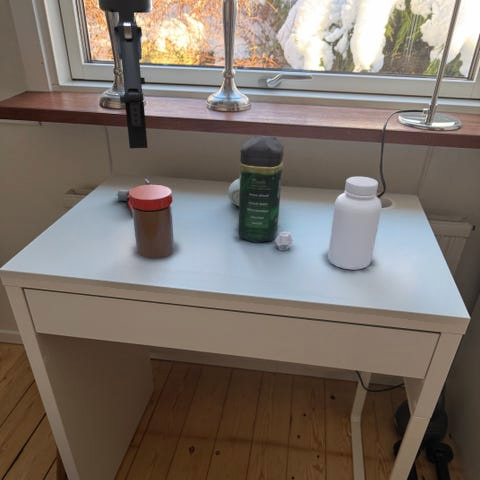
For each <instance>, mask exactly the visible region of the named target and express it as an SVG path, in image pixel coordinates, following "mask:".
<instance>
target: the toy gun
mask: <svg viewBox="0 0 480 480" xmlns="http://www.w3.org/2000/svg"><path fill="white" fill-rule="evenodd" d="M144 182H145V184H144V185H151V182H150V181H149V179H148V178H145V179H144ZM129 191H130V190H129V189H118V191H117V193H116V194H115V196H117V199H118V202H126V205H127V207H129V209H130V211H131V212H132V206H131V204H130V201H129Z"/></svg>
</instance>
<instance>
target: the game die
mask: <svg viewBox="0 0 480 480" xmlns="http://www.w3.org/2000/svg"><path fill="white" fill-rule="evenodd" d="M293 242H294V239H293V237H292V235H291V234H290V233H289V231H279V233H278V235H277V236H276V237H275V239H274V244H275V245H276V247H277V249H278V250H279V251H288V250H289V248H290V247H291V245H292V244H293Z"/></svg>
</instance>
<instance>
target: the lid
mask: <svg viewBox="0 0 480 480" xmlns="http://www.w3.org/2000/svg"><path fill="white" fill-rule="evenodd" d="M129 201H130V204H131V206H133V207H134V208H137V209H141V210H157V209H162V208H165V207H167V206H169V205H170V204H171V205H172V203H173V192H172V189H171V188H170V187H168V186H165V185H161V184H150V185H146V184H143V185H138V186H135V187H133V188H131V189H130V190H129Z"/></svg>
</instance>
